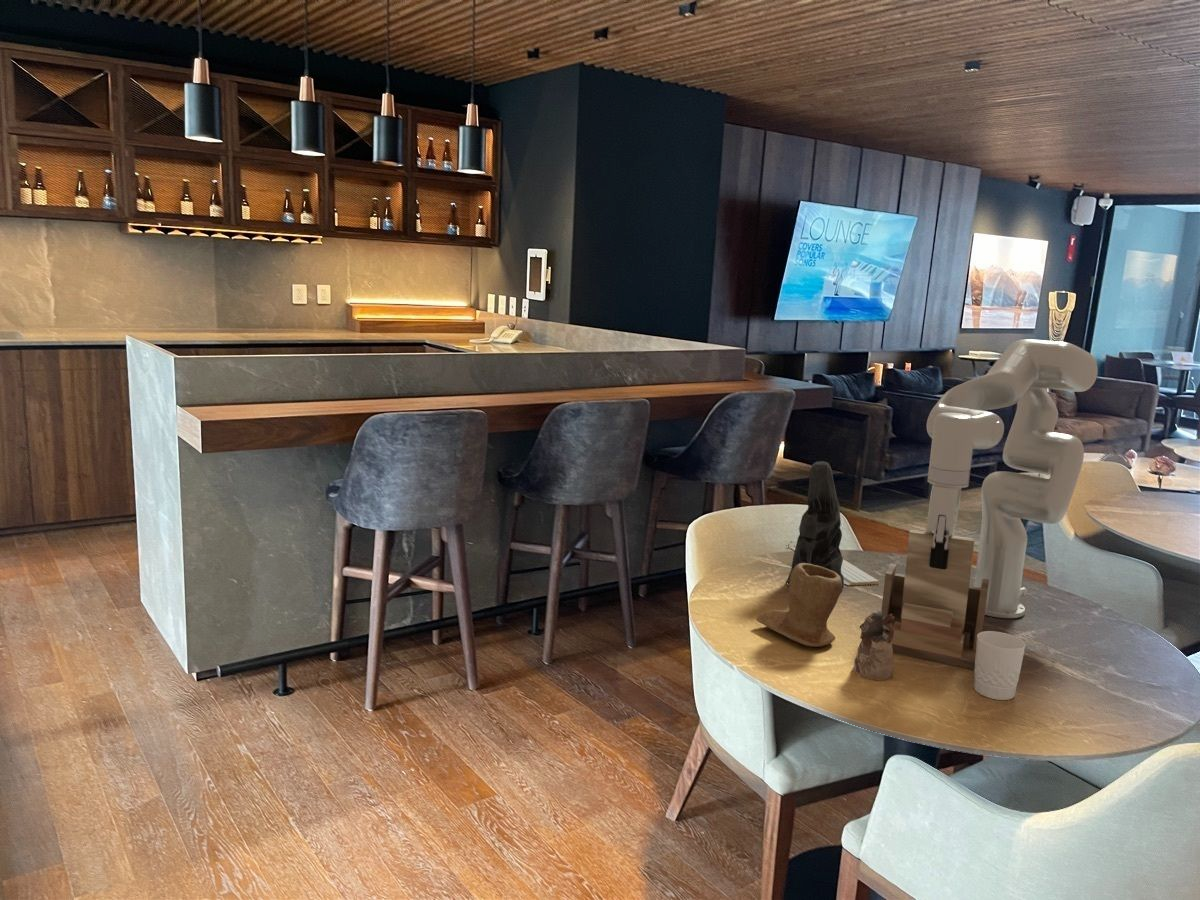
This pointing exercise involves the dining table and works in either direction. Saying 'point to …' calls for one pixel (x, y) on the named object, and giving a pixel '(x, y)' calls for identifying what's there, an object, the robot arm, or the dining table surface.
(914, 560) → the birch sheet
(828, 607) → the clay boot figure
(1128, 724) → the dining table surface
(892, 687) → the dining table surface
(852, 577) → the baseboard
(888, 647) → the figurine
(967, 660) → the walnut rack
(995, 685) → the white cup
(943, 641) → the offcut bundle
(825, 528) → the dark tapered sculpture
